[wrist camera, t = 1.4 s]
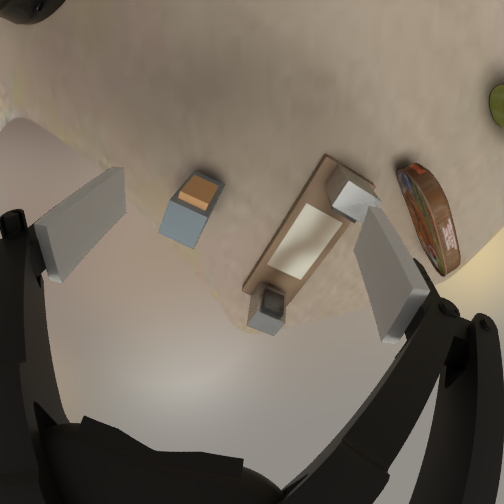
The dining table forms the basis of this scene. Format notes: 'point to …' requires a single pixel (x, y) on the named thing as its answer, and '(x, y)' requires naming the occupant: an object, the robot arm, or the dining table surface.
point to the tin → (430, 217)
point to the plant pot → (497, 104)
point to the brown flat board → (301, 237)
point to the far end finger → (267, 309)
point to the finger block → (190, 209)
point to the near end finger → (350, 194)
